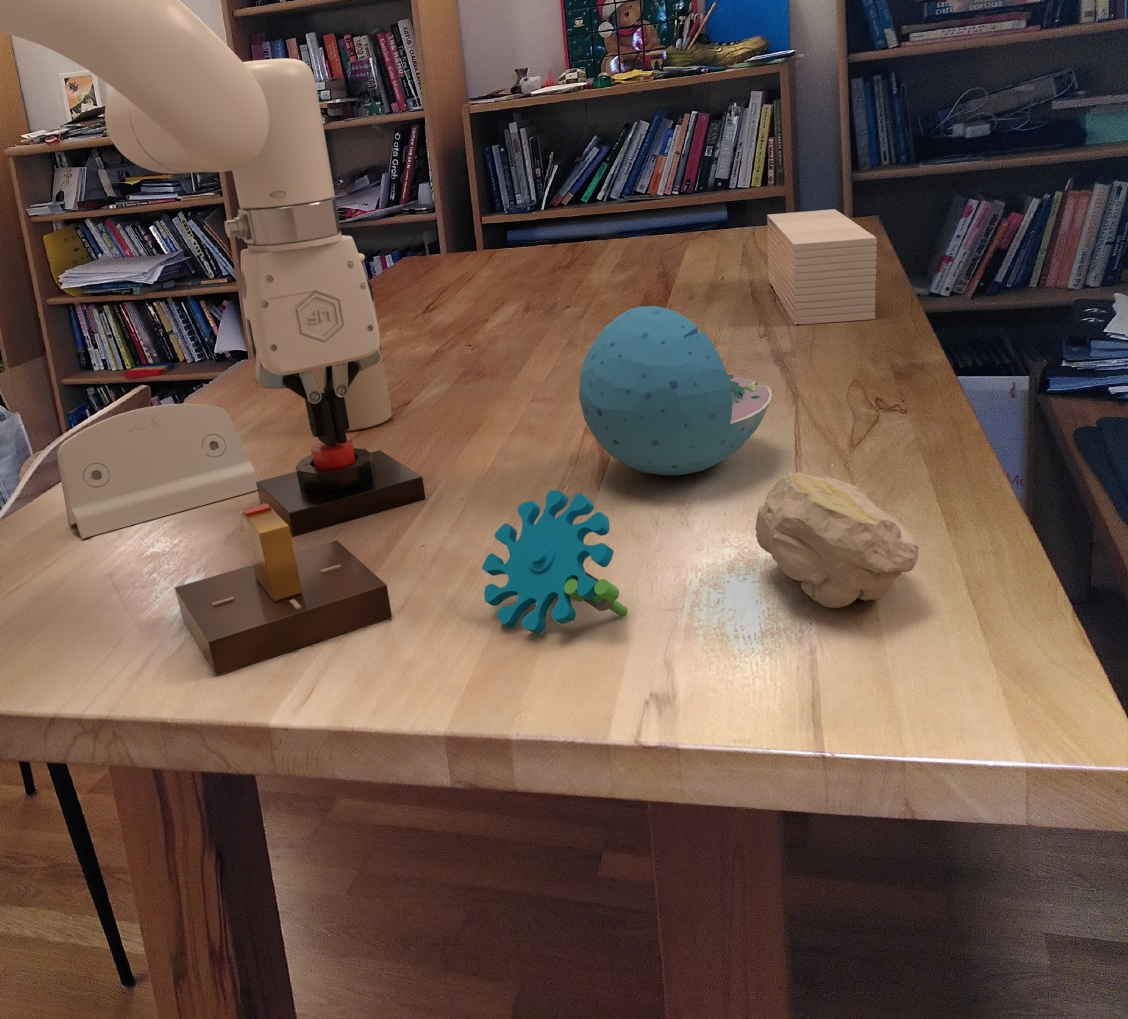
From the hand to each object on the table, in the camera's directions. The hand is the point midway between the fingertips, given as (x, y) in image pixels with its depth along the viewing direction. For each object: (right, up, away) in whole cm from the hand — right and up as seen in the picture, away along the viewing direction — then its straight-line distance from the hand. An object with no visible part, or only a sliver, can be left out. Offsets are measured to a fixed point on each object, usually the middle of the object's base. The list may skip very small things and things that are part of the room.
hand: (332, 440), depth 91 cm
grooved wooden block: (+58, +25, +64) cm, 90 cm away
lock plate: (+1, -14, -18) cm, 23 cm away
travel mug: (-3, +4, +25) cm, 26 cm away
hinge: (-17, -6, +6) cm, 19 cm away
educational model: (+31, -2, +3) cm, 31 cm away
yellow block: (+1, -11, -19) cm, 22 cm away
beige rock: (+38, -11, -21) cm, 45 cm away
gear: (+20, -13, -21) cm, 32 cm away
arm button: (0, -2, +1) cm, 2 cm away
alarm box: (0, -5, +2) cm, 6 cm away
